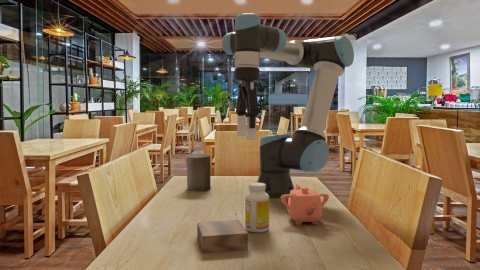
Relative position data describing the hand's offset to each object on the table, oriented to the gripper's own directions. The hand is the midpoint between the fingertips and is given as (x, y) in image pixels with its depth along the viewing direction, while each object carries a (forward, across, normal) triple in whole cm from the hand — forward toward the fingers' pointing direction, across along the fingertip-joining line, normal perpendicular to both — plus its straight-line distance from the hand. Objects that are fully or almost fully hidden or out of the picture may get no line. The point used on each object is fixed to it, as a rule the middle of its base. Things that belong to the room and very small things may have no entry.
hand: (246, 138), depth 120 cm
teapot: (+25, +7, +17) cm, 31 cm away
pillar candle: (+25, -43, -10) cm, 50 cm away
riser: (+25, +21, -11) cm, 34 cm away
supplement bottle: (+25, +12, +1) cm, 28 cm away
